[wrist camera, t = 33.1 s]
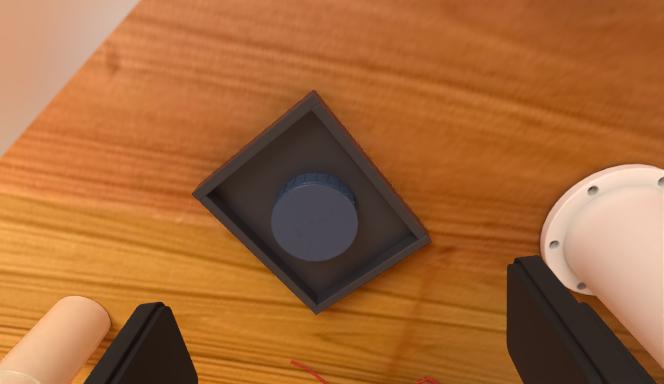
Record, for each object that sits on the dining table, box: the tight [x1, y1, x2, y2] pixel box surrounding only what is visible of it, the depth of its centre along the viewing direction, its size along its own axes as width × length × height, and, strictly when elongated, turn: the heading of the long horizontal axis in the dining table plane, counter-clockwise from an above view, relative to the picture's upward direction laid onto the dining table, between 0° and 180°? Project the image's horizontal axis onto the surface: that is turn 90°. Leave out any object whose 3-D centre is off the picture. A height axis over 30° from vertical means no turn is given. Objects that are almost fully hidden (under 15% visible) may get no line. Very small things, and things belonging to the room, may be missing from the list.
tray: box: [192, 90, 431, 315], centre depth 34 cm, size 16×13×2 cm
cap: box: [271, 172, 359, 261], centre depth 33 cm, size 7×7×2 cm
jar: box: [0, 296, 111, 384], centre depth 35 cm, size 6×6×11 cm
